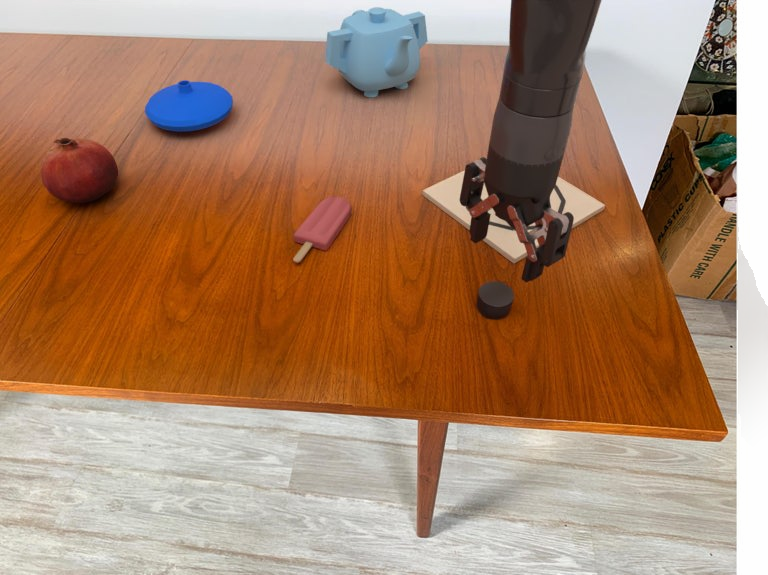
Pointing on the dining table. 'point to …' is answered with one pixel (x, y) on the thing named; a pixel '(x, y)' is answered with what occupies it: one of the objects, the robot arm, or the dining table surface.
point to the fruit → (78, 170)
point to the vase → (189, 106)
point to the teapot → (377, 49)
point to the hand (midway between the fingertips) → (502, 258)
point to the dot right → (494, 300)
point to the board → (499, 230)
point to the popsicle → (322, 225)
